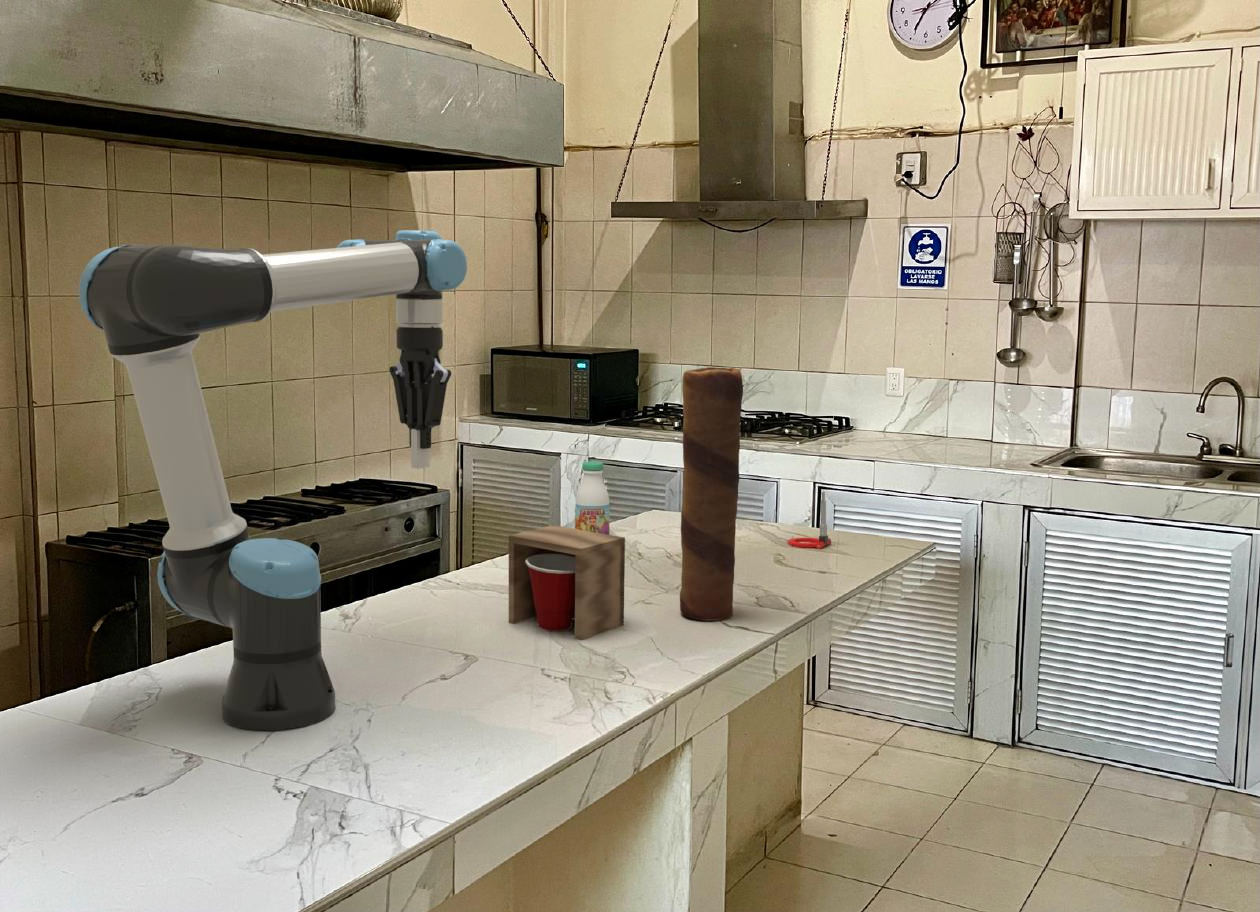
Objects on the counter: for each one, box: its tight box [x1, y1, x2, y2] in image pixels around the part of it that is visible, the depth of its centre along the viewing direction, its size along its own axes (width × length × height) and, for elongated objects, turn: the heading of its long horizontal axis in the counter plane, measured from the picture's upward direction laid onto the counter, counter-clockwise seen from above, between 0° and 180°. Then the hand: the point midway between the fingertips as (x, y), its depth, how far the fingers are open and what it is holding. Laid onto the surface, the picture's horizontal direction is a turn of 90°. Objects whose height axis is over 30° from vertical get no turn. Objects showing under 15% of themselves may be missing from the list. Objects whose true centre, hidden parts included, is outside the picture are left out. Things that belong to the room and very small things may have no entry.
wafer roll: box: [679, 366, 744, 621], centre depth 217 cm, size 10×11×45 cm
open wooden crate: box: [508, 524, 626, 641], centre depth 212 cm, size 12×16×16 cm
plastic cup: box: [525, 554, 575, 632], centre depth 210 cm, size 11×11×12 cm
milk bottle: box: [574, 461, 611, 535], centre depth 270 cm, size 8×8×20 cm
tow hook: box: [787, 491, 832, 549], centre depth 281 cm, size 8×13×9 cm
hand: (420, 467), depth 202 cm, fingers closed
